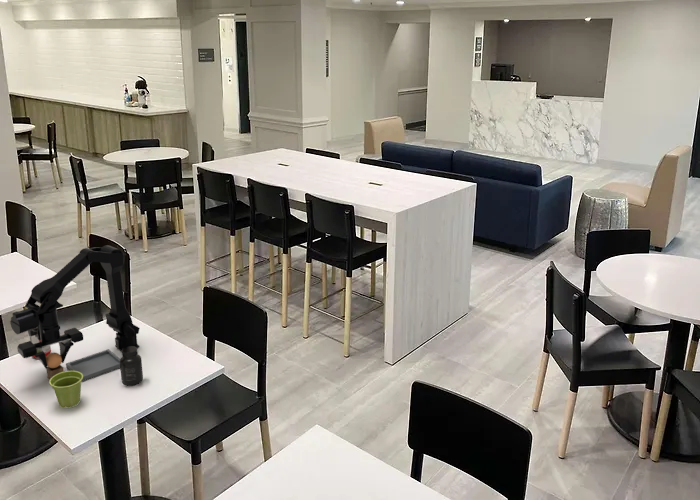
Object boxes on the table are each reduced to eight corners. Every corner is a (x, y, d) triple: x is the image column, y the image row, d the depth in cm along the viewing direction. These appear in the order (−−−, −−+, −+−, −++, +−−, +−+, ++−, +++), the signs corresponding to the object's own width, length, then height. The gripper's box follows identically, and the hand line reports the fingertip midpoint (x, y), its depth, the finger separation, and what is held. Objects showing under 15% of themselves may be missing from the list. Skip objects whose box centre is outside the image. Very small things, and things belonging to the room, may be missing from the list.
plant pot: (61, 415, 181) (58, 390, 178) (47, 402, 187) (43, 378, 184) (91, 402, 188) (88, 378, 185) (76, 390, 194) (73, 367, 191)
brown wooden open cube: (59, 373, 203) (58, 363, 202) (64, 378, 200) (63, 367, 199) (47, 377, 200) (46, 367, 199) (52, 382, 198) (50, 371, 196)
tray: (108, 353, 217) (108, 349, 216) (124, 366, 209) (124, 362, 208) (66, 368, 206) (65, 363, 206) (81, 382, 198) (80, 377, 198)
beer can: (55, 351, 216) (49, 311, 211) (44, 360, 210) (38, 319, 205) (38, 350, 216) (32, 310, 211) (27, 359, 211) (21, 317, 205)
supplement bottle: (147, 378, 202) (145, 346, 198) (134, 388, 196) (131, 356, 192) (130, 374, 204) (127, 342, 200) (117, 384, 198) (113, 352, 194)
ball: (59, 361, 202) (57, 348, 200) (65, 367, 199) (63, 353, 197) (43, 366, 199) (41, 353, 197) (49, 372, 195) (47, 359, 194)
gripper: (67, 306, 205) (72, 347, 210) (8, 322, 192) (15, 365, 197) (81, 317, 198) (86, 359, 203) (20, 335, 185) (27, 379, 190)
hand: (54, 365), depth 199 cm, fingers closed on ball, 5 cm apart
